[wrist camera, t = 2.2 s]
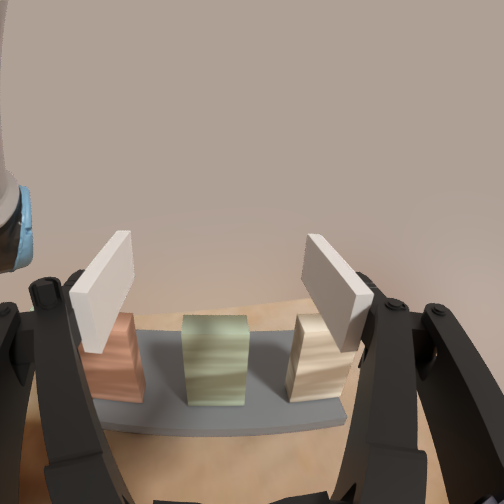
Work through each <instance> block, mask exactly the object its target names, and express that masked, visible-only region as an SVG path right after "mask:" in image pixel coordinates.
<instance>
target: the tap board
mask: <svg viewBox="0 0 504 504" xmlns="http://www.w3.org/2000/svg"><path fill="white" fill-rule="evenodd" d="M136 335H137V341H138V347H139V352H140V357H141V362H142V367H143V372H144V377H145V381H146V388H145V393H144V399H143V403H132V402H122V401H113V400H105V399H97V398H93V403H94V406H95V409H96V412H97V415H98V418H99V421H100V424H101V427H102V429H106V430H113V431H121V432H130V433H140V434H151V435H165V436H188V437H232V436H255V435H269V434H281V433H291V432H300V431H308V430H315V429H322V428H328V427H335V426H340V425H344V423H345V421H346V419H347V415H346V413H345V411H344V408H343V406H342V404H341V401H340V399H339V397H334V398H327V399H319V400H310V401H301V402H291V403H290V402H289V398H288V395H287V391H286V387H285V379H286V374H287V369H288V363H289V358H290V352H291V347H292V341H293V336H294V330H289V331H255V332H250V340H249V352H248V365H247V378H246V390H245V403H244V405H242V406H188V400H187V391H186V382H185V372H184V361H183V350H182V338H181V331H157V330H136Z"/></svg>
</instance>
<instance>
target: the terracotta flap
mask: <svg viewBox="0 0 504 504" xmlns="http://www.w3.org/2000/svg"><path fill="white" fill-rule="evenodd" d="M78 350H79V353H80V356H81V360H82V364H83V368H84V372H85V376H86V379H87V383H88V386H89V390H90V393H91V396H92V398H97V399H105V400H113V401H122V402H132V403H143V399H144V393H145V388H146V381H145V377H144V372H143V367H142V362H141V357H140V352H139V347H138V341H137V335H136V330H135V324H134V317H133V313H120V312H119V313H118V316H117V318H116V320H115V323H114V325H113V328H112V330H111V332H110V335H109V337H108V340H107V342H106V345H105V347H104V350H103V352H102V354H98V353H88V352H85V351H84V348H83V345H82V341H81V343H80V345H79V347H78Z"/></svg>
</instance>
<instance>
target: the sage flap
mask: <svg viewBox="0 0 504 504" xmlns="http://www.w3.org/2000/svg"><path fill="white" fill-rule="evenodd" d="M181 338H182V350H183V361H184V372H185V382H186V391H187V400H188V406H242V405H244V403H245V390H246V378H247V365H248V352H249V340H250V332H249V327H248V321H247V316H246V315H183V323H182V331H181Z"/></svg>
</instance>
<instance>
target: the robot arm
mask: <svg viewBox="0 0 504 504" xmlns="http://www.w3.org/2000/svg"><path fill="white" fill-rule="evenodd" d="M7 3H8V0H0V66H1V49H2V39H3V30H4V22H5V16H6V9H7ZM31 229H32V218H31V203H30V192H29V189H28V188H27V187H26V186H20V185H19V186H18V183H17V180H16V178H15V177H14V176H13V175H12V174H11V173H10V172H9V171H7V170H6V169H5V163H4V155H3V145H2V133H1V117H0V274H1V273H5V272H14V271H15V270H16V269H19V268H23V267H26V266H28V265H29V264H30V263H31V261H32V258H33V236H32V230H31ZM134 278H135V275H134V266H133V254H132V242H131V231H117V232H116V233H115V234H114V236H112V238H111V239H110V240H109V241H108V242H107V244H106V245H105V246H104V247H103V249H102V250H101V251H100V252H99V253H98V255H97V256H96V257H95V259H94V260H93V261H92V262H91V264H90V265H89V266H88V267H87V269H86V270H78V271H77V272H75V273H73V274H72V275H71V276H70V277H69V278H68V280H67V281H66V282H65V284H64V286H61V282H60V280H59V279H58V278H56V277H44V278H41V279H38V280H36V281H34V282H33V283H32V284H30V286H29V292H30V296H31V300H32V303H33V307H34V311H30V312H22V313H19V310H18V307H17V305H16V304H15V303H12V302H5V303H4V302H3V303H1V304H0V504H19V473H20V460H21V449H22V440H23V432H24V425H25V419H26V412H27V406H28V401H29V396H30V391H31V386H32V381H33V376H34V372H36V384H37V394H38V402H39V410H40V417H41V423H42V429H43V435H44V440H45V445H46V450H47V454H48V459H49V465H48V466H45V468H44V474H45V479H46V483H47V487H48V491H49V494H50V498H51V501H52V504H135V502H134V501H133V499H132V497H131V495H130V493H129V491H128V489H127V487H126V485H125V483H124V481H123V478H122V476H121V474H120V472H119V469H118V467H117V465H116V462H115V460H114V458H113V455H112V453H111V450H110V448H109V445H108V443H107V440H106V437H105V435H104V432H103V429H102V427H101V424H100V421H99V418H98V415H97V412H96V409H95V406H94V403H93V400H92V396H91V393H90V390H89V386H88V383H87V379H86V376H85V372H84V368H83V364H82V360H81V356H80V353H79V350H78V347H79V345H80V343H81V341H82V345H83V348H84V351H85V352H88V353H98V354H102V352H103V350H104V347H105V345H106V342H107V340H108V337H109V335H110V332H111V330H112V328H113V325H114V323H115V320H116V318H117V316H118V313H119V311H120V309H121V307H122V304H123V302H124V300H125V297H126V295H127V293H128V291H129V289H130V286H131V284H132V282H133V280H134ZM301 280H302V281H303V283H304V285H305V287H306V288H307V291H308V292H309V294H310V296H311V298H312V300H313V302H314V303H315V305H316V307H317V309H318V311H319V313H320V315H321V316H322V318H323V320H324V322H325V324H326V326H327V328H328V330H329V331H330V333H331V335H332V337H333V339H334V341H335V343H336V345H337V347H338V348H339V350H340V352H341V353H345V352H354V351H358V347H359V344H360V341H361V340H362V342H363V343H364V345H365V348H364V351H363V354H362V357H361V360H360V363H359V365H358V368H360V375H359V381H358V387H357V393H356V399H355V404H354V410H353V415H352V420H351V425H350V430H349V434H348V439H347V444H346V448H345V452H344V456H343V460H342V465H341V468H340V472H339V476H338V480H337V484H336V487H335V490H334V492H333V494H332V496H331V499H330V500H329V497H328V494H327V491H324V492H319V493H313V494H308V495H302V496H295V497H288V498H284V499H281V500H278V501H276V502H273V503H270V504H425V498H426V482H427V454H426V452H425V451H423V450H418V447H417V431H418V422H417V392H418V395H419V398H420V401H421V404H422V407H423V410H424V413H425V416H426V419H427V422H428V425H429V429H430V432H431V435H432V439H433V442H434V446H435V449H436V453H437V456H438V460H439V464H440V468H441V472H442V476H443V480H444V484H445V488H446V493H447V497H448V501H449V504H504V395H503V393H502V391H501V390H500V388H499V386H498V384H497V383H496V381H495V379H494V378H493V376H492V374H491V372H490V371H489V369H488V367H487V365H486V364H485V362H484V361H483V359H482V357H481V356H480V354H479V353H478V351H477V349H476V348H475V346H474V345H473V343H472V342H471V340H470V339H469V337H468V336H467V334H466V332H465V331H464V329H463V328H462V326H461V325H460V324H459V322H458V321H457V319H456V318H455V316H454V315H453V313H452V312H451V311H450V310H449V309H448V308H446V307H445V306H444V305H441V304H435V303H430V304H427V305H426V306H425V309H424V312H423V313H416V312H409V308H408V306H407V305H406V304H405V303H404V302H402V301H400V300H397V299H394V298H387V297H386V296H385V295H384V294H383V293H382V292H381V291H380V290H379V289H378V288H377V287H376V285H375V284H373V282H372V281H371V280H370V279H369V278H368V277H367V276H366V275H364V274H362V273H360V272H354V271H353V269H352V268H351V267H350V266H349V265H348V264H347V263H346V262H345V261H344V259H343V258H342V257H341V256H340V255H339V254H338V253H337V252H336V251H335V249H333V247H332V246H331V245H330V244H329V243H328V242H327V241H326V240H325V239H324V238H323V237H322V235H321V234H307V241H306V248H305V256H304V263H303V270H302V277H301ZM436 354H437V356H436ZM153 504H200V503H194V502H172V501H159V500H153Z"/></svg>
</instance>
